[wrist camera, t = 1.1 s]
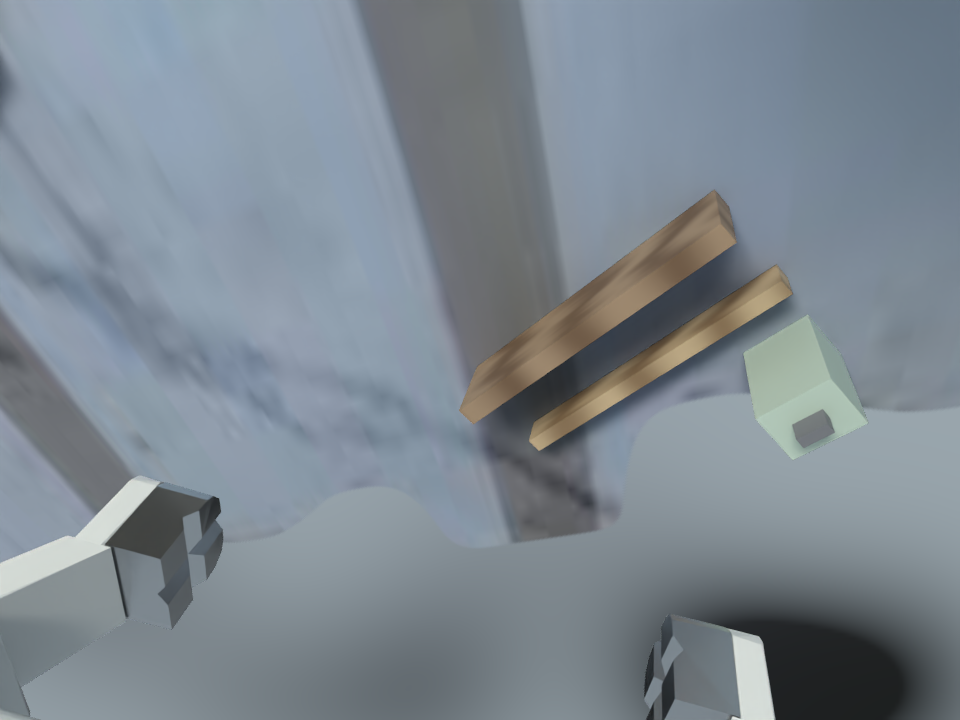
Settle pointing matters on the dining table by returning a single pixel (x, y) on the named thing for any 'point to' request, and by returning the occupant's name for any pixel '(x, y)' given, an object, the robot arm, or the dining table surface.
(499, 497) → the dining table surface
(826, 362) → the cabinet block
